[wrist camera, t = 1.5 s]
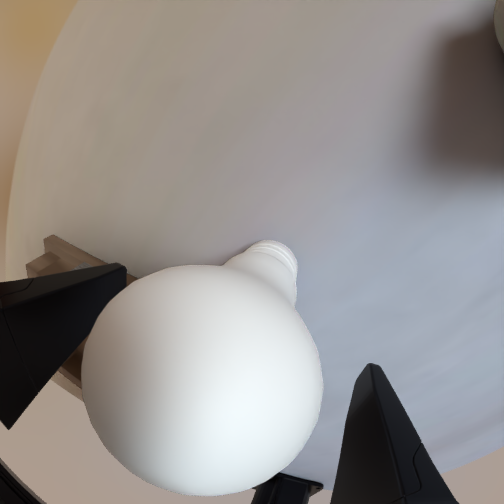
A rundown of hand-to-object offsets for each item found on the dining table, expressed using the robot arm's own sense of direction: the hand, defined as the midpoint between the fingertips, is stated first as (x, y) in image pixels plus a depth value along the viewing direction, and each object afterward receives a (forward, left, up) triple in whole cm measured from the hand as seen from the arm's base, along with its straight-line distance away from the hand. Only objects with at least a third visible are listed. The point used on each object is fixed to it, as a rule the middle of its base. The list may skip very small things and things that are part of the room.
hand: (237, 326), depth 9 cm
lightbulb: (0, 0, -5) cm, 5 cm away
